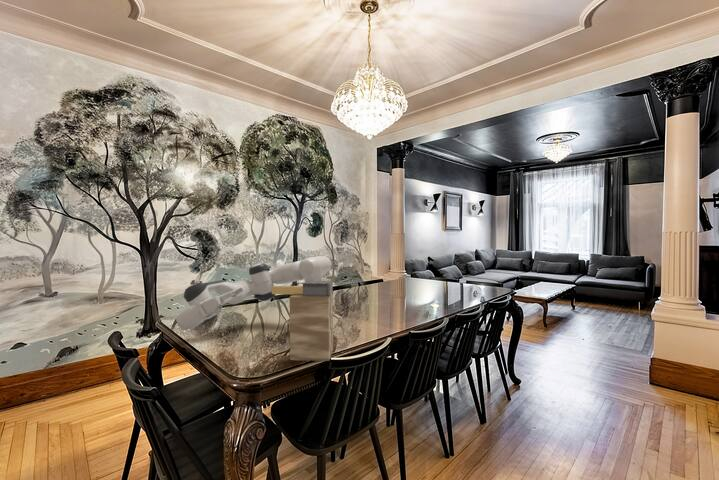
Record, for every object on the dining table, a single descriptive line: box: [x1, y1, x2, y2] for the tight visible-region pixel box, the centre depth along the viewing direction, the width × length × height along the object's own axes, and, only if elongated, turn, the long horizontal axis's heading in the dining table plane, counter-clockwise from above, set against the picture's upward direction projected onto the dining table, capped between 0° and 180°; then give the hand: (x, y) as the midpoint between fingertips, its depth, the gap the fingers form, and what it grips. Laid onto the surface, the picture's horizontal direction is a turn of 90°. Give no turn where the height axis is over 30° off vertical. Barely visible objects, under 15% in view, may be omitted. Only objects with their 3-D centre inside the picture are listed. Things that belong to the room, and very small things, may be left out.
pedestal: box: [289, 293, 334, 362], centre depth 136 cm, size 12×16×26 cm
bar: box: [272, 285, 303, 295], centre depth 136 cm, size 3×24×3 cm, turn 86°
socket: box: [302, 280, 334, 296], centre depth 136 cm, size 8×11×5 cm
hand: (237, 291), depth 138 cm, fingers open, 8 cm apart
